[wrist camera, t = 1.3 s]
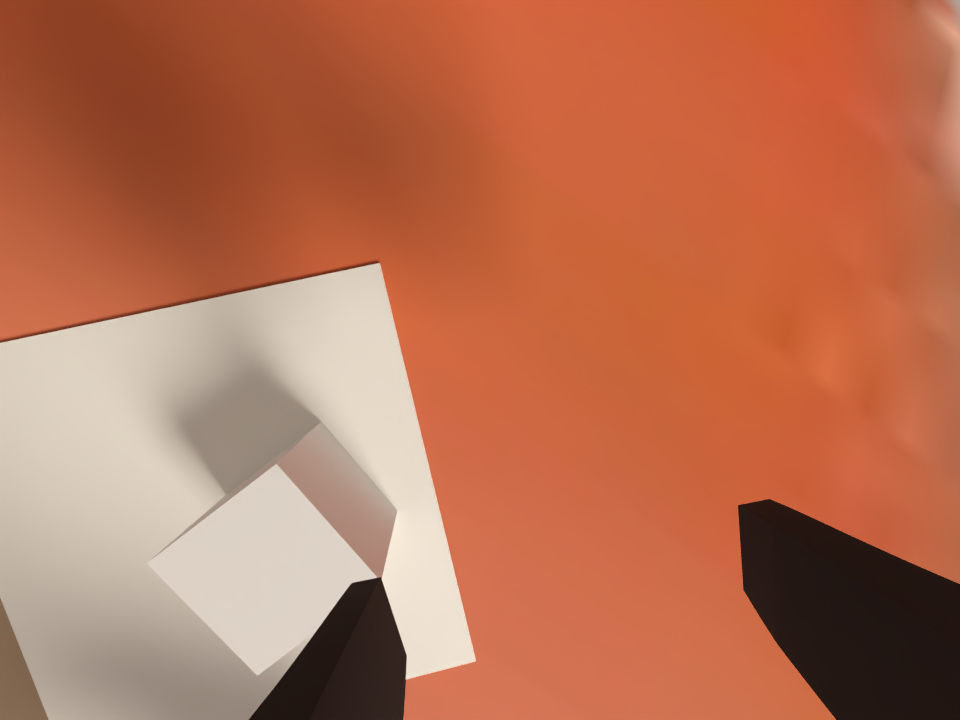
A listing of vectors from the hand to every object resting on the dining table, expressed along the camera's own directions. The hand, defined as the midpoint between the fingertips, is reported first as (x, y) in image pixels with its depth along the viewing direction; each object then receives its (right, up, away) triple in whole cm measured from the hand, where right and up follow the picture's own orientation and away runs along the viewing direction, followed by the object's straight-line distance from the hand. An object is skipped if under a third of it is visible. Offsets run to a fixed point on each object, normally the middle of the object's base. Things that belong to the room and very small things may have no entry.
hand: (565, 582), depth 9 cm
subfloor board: (-17, -4, +9) cm, 20 cm away
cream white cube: (-9, -2, +10) cm, 13 cm away
